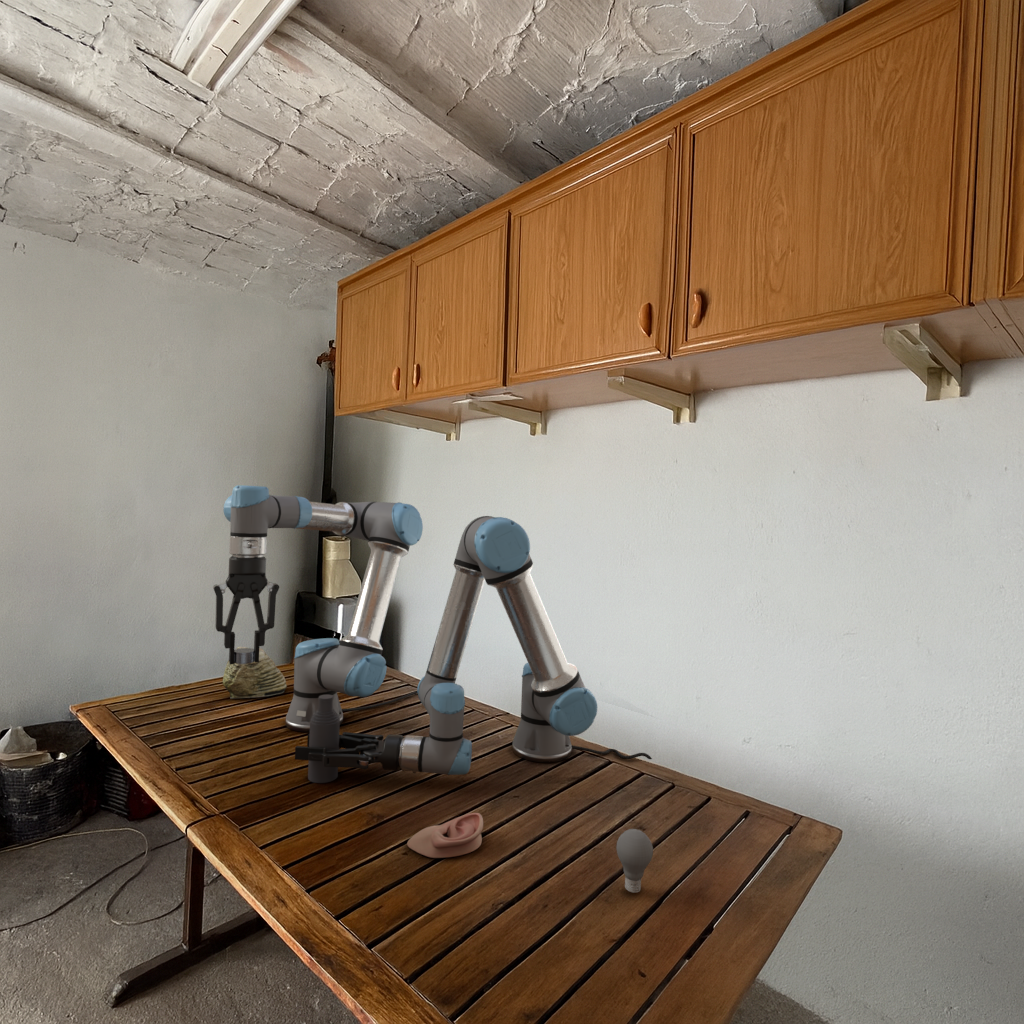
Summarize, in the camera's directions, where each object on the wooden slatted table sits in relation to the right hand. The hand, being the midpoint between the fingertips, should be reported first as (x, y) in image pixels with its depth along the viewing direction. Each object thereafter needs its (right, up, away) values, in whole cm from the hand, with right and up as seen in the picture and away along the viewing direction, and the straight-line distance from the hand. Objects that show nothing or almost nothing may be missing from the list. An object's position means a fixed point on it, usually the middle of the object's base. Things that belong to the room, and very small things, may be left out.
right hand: (302, 746), depth 143 cm
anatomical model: (+35, -9, -25) cm, 44 cm away
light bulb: (+68, -10, -38) cm, 78 cm away
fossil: (-33, -4, +55) cm, 64 cm away
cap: (-11, +22, -4) cm, 25 cm away
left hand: (-11, +20, -4) cm, 24 cm away
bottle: (+5, -7, 0) cm, 8 cm away
